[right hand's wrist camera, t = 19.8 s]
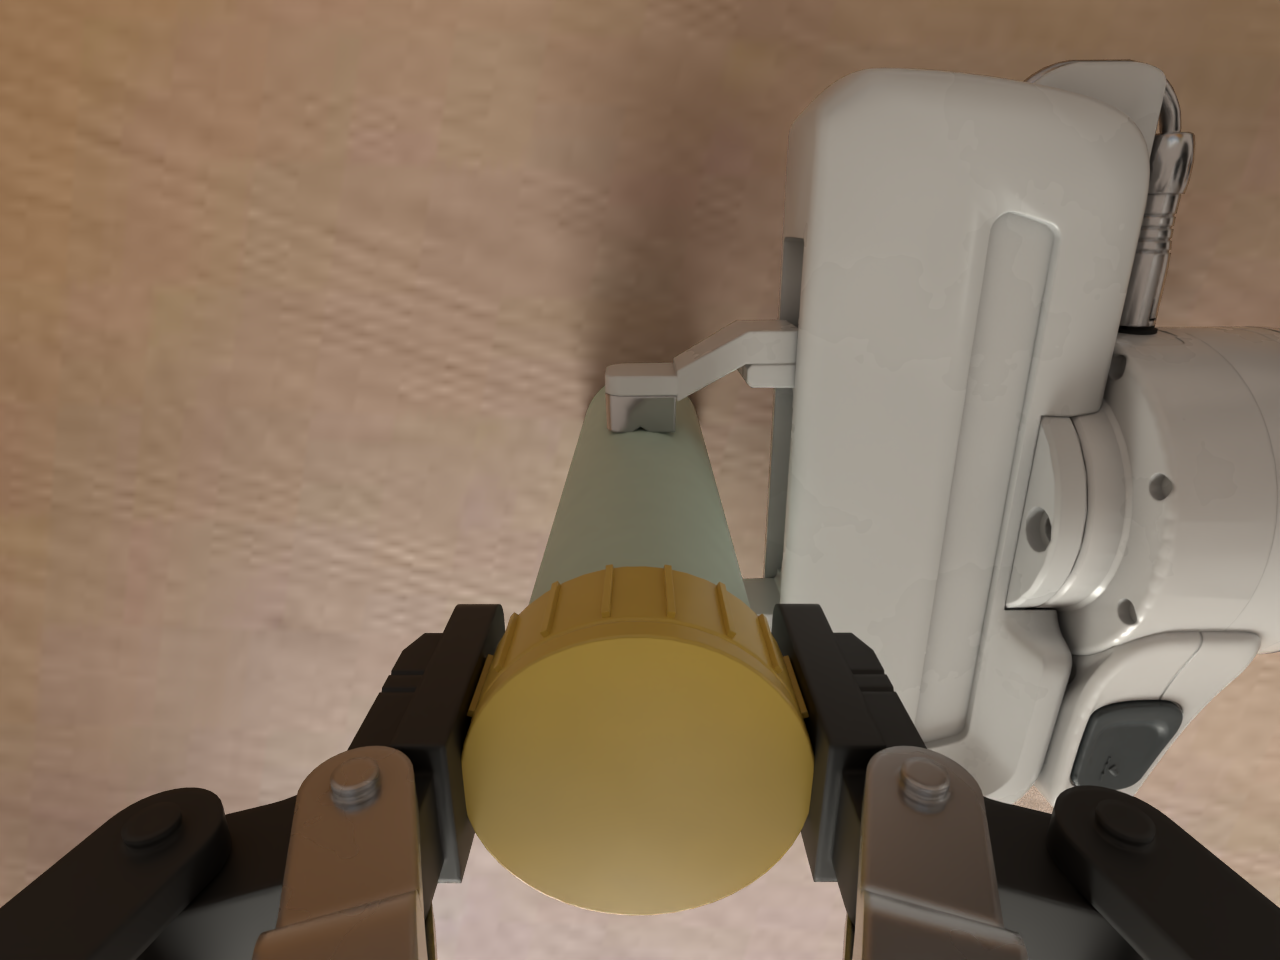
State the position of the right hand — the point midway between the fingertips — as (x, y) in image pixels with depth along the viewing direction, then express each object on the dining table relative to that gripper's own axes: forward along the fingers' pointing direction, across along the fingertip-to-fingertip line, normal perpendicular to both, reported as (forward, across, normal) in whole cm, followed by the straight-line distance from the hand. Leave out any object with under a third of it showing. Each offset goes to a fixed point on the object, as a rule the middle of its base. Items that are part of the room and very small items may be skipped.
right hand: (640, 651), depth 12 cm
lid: (-3, 0, 0) cm, 3 cm away
